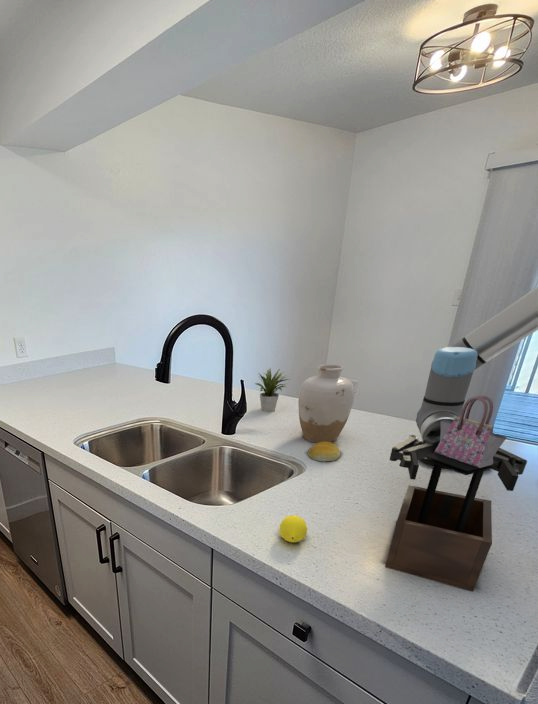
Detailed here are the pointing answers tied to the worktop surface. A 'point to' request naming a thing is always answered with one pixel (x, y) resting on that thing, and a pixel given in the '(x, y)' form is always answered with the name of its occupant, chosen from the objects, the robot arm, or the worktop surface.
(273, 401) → the house plant
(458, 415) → the robot arm
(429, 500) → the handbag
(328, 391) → the vase
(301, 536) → the lemon
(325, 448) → the bread roll
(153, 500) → the worktop surface
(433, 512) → the open brown wooden box
